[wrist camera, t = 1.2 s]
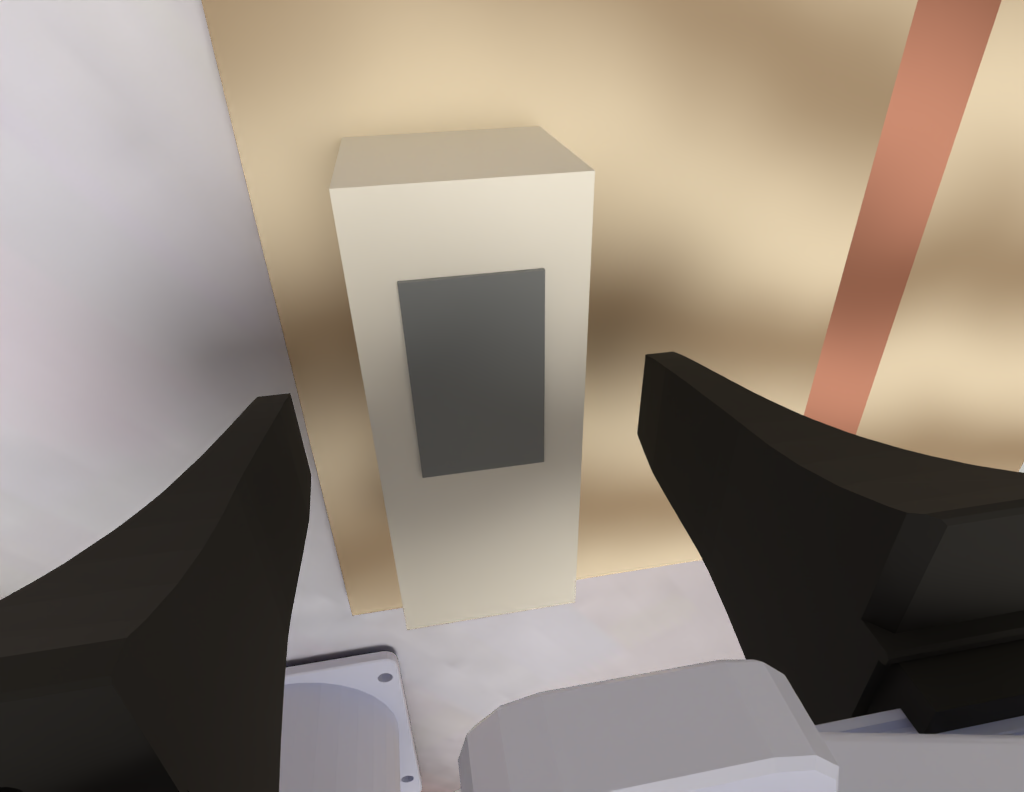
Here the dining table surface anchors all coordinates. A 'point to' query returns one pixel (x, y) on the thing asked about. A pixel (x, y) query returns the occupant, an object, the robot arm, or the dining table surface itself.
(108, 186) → the dining table surface
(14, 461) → the dining table surface
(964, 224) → the board
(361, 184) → the block
